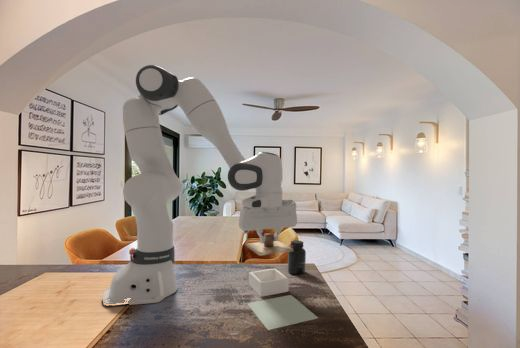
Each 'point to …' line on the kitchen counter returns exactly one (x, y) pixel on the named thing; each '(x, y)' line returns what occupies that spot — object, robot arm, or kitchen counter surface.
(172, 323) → the kitchen counter surface
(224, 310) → the kitchen counter surface
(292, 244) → the supplement bottle
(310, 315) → the sage mat
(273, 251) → the oak lid
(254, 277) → the white open box
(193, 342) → the kitchen counter surface
